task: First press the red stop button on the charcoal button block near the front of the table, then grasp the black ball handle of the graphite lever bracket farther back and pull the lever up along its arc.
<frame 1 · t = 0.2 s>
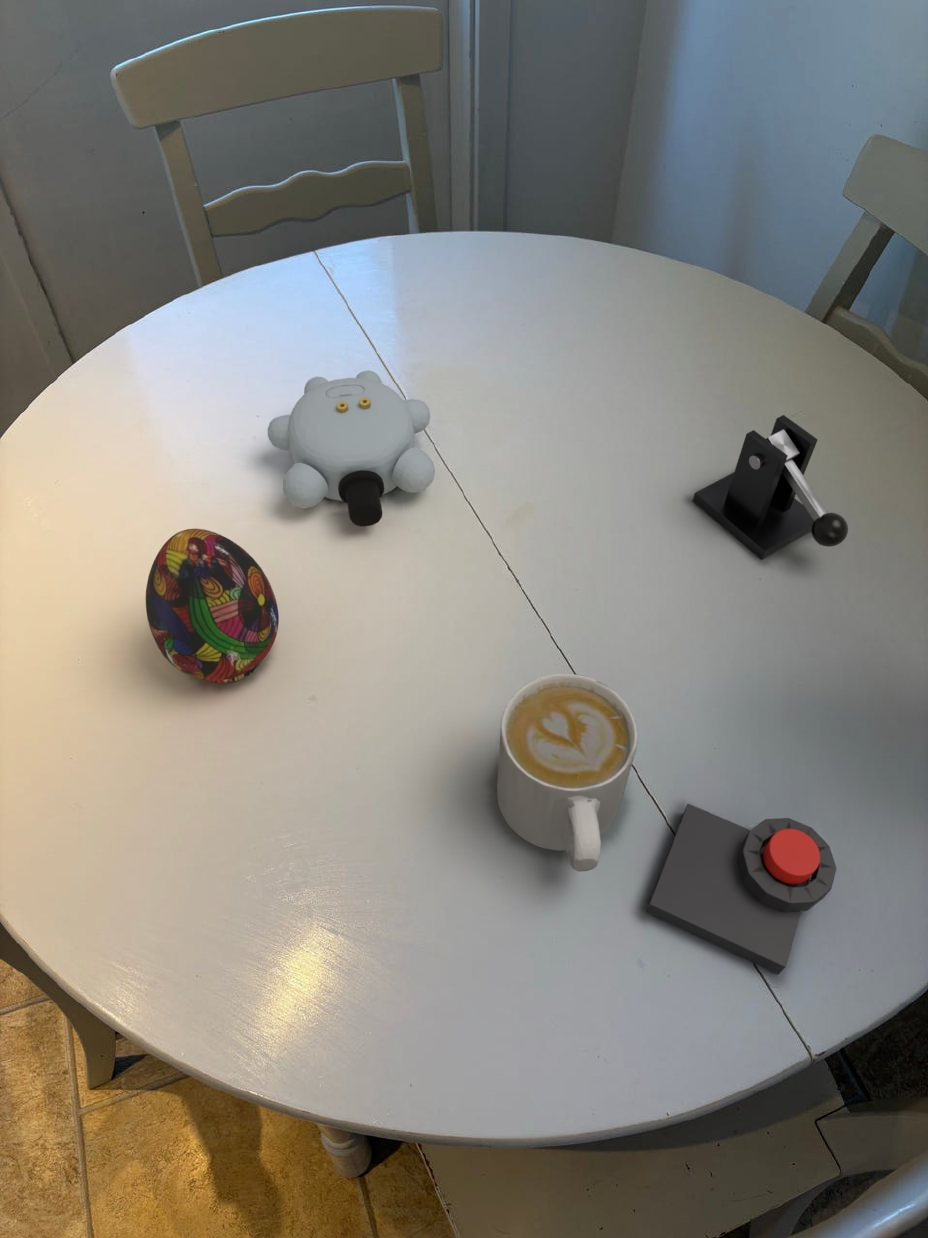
lever: (803, 490, 84), point 7 cm above the table, hinge at -25.0°
figurine: (357, 474, 96), on the table
button: (791, 856, 65), point 4 cm above the table, slide at 0.1 cm
bracket: (754, 513, 92), on the table
egg: (229, 655, 81), on the table
coffee mug: (557, 813, 71), on the table
button block: (728, 889, 67), on the table
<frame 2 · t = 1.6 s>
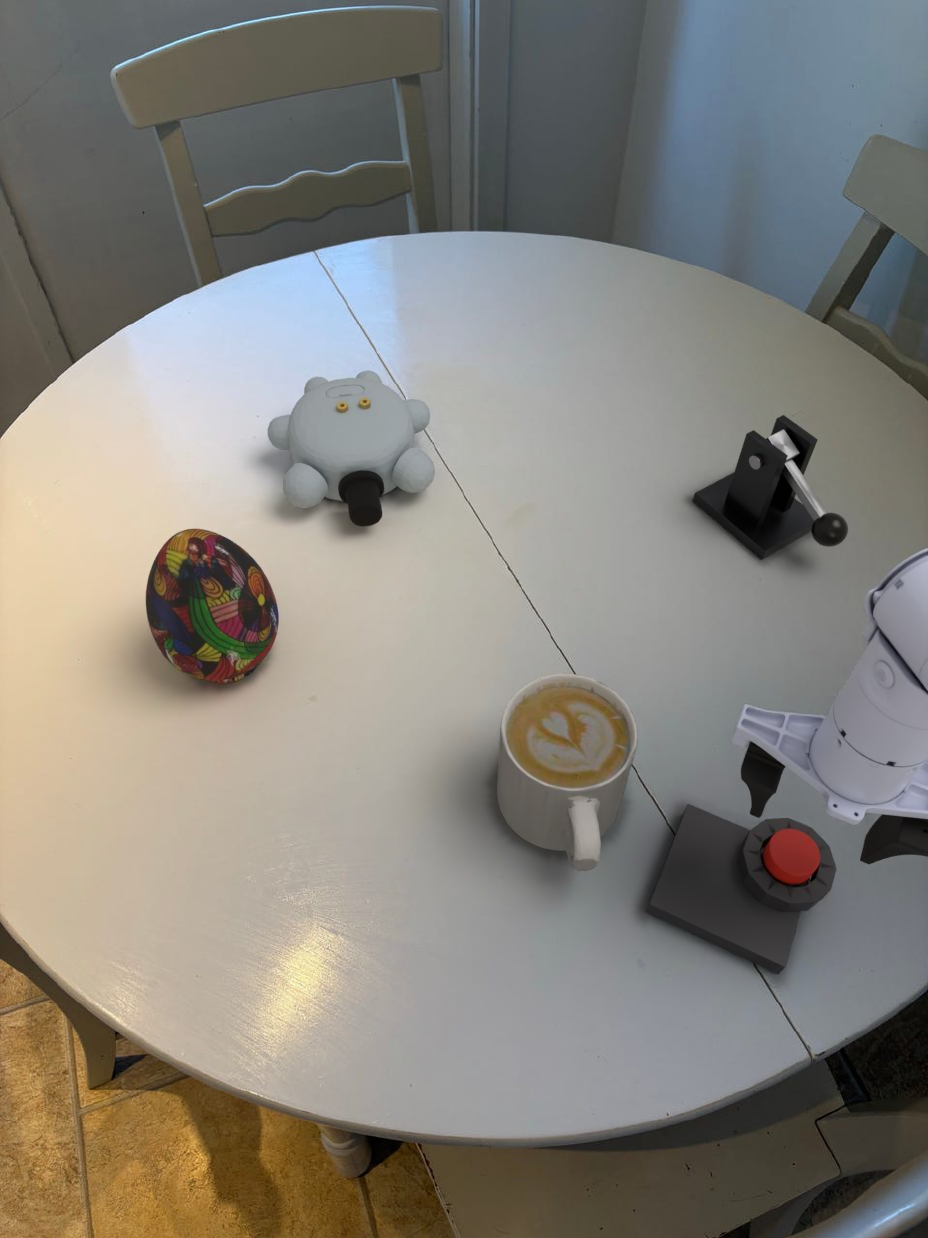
hand: (811, 827, 61), 9 cm above the table, tool pointing down, fingers open, 7 cm apart
nothing on the table moved.
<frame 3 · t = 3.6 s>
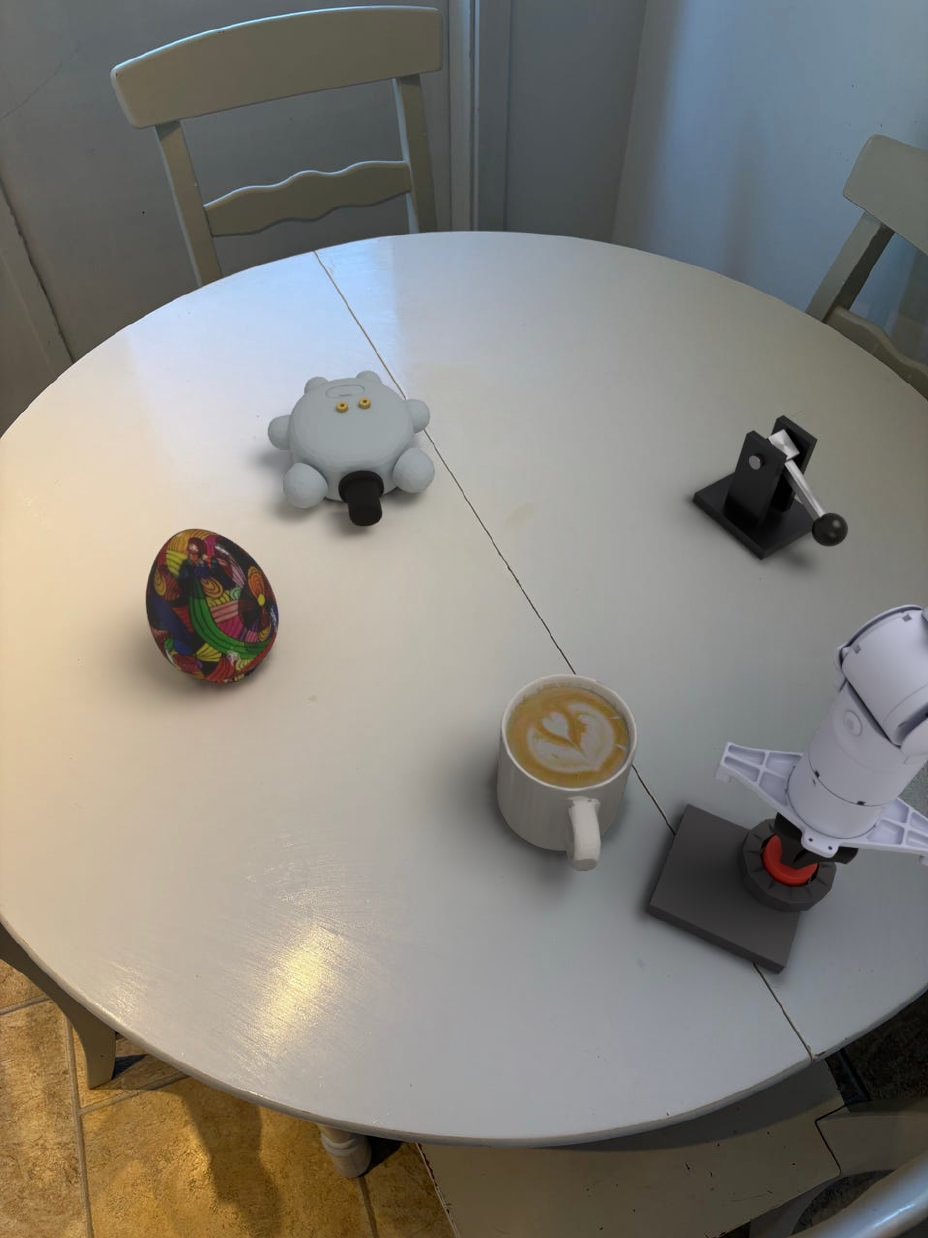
hand: (792, 855, 64), 4 cm above the table, tool pointing down, fingers closed, pressing on button
button: (789, 859, 65), point 3 cm above the table, slide at -0.5 cm, touching gripper
everything else where it was.
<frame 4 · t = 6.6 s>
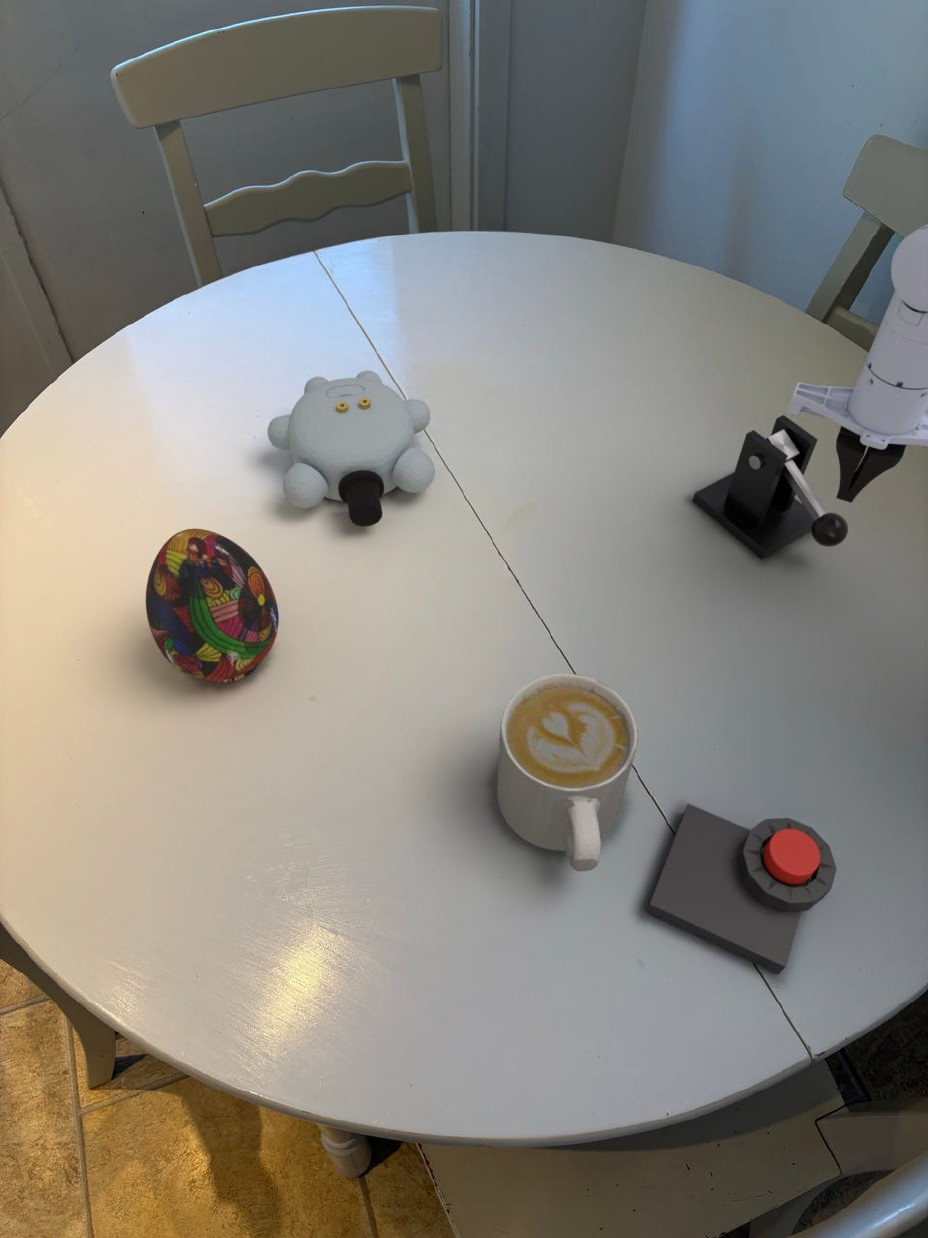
hand: (846, 493, 80), 9 cm above the table, tool pointing down, fingers closed
button: (791, 856, 65), point 4 cm above the table, slide at 0.1 cm
everything else where it was.
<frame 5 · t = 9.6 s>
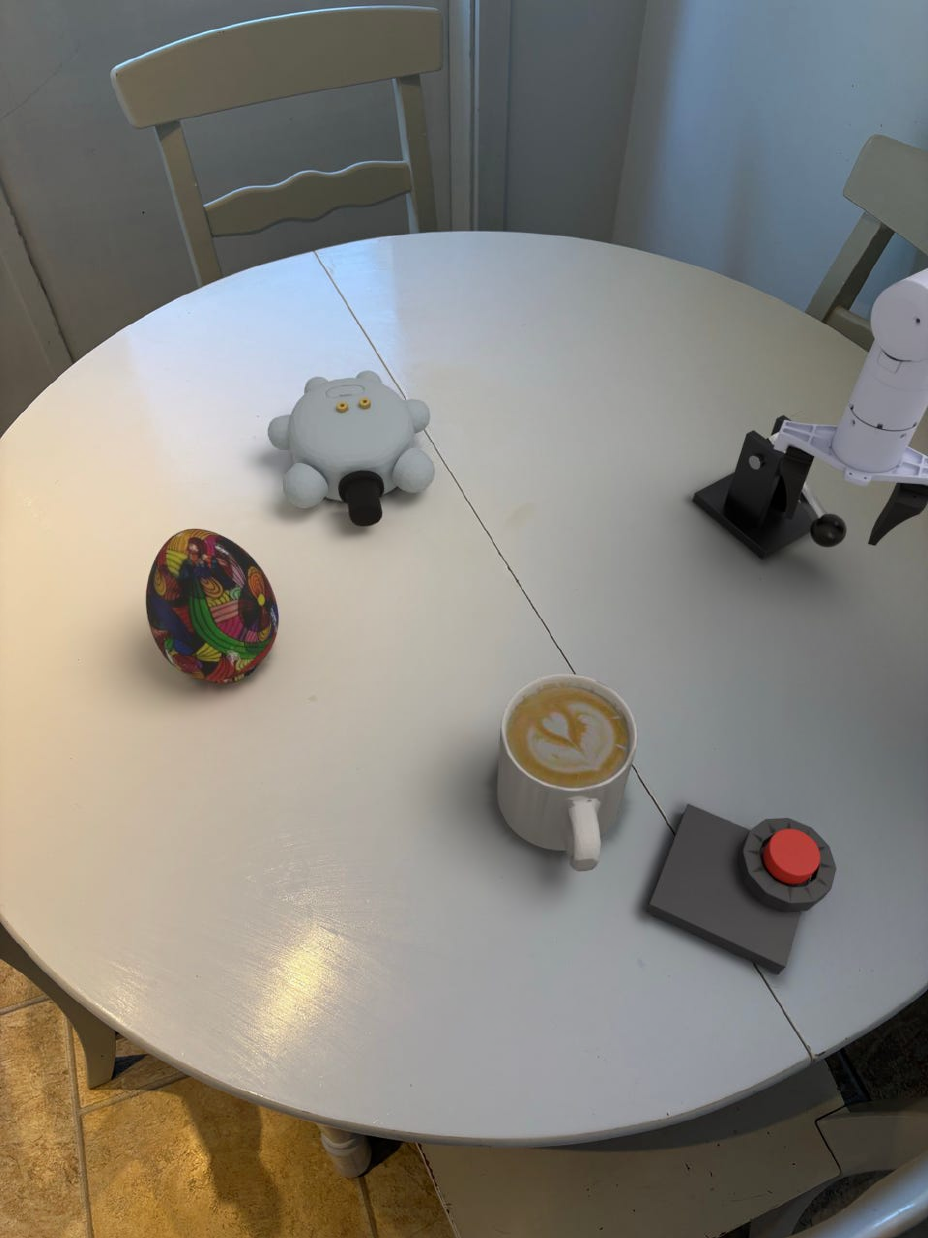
hand: (831, 524, 83), 5 cm above the table, tool pointing down, fingers open, 7 cm apart
lever: (803, 491, 84), point 6 cm above the table, hinge at -26.3°, touching gripper
everything else where it was.
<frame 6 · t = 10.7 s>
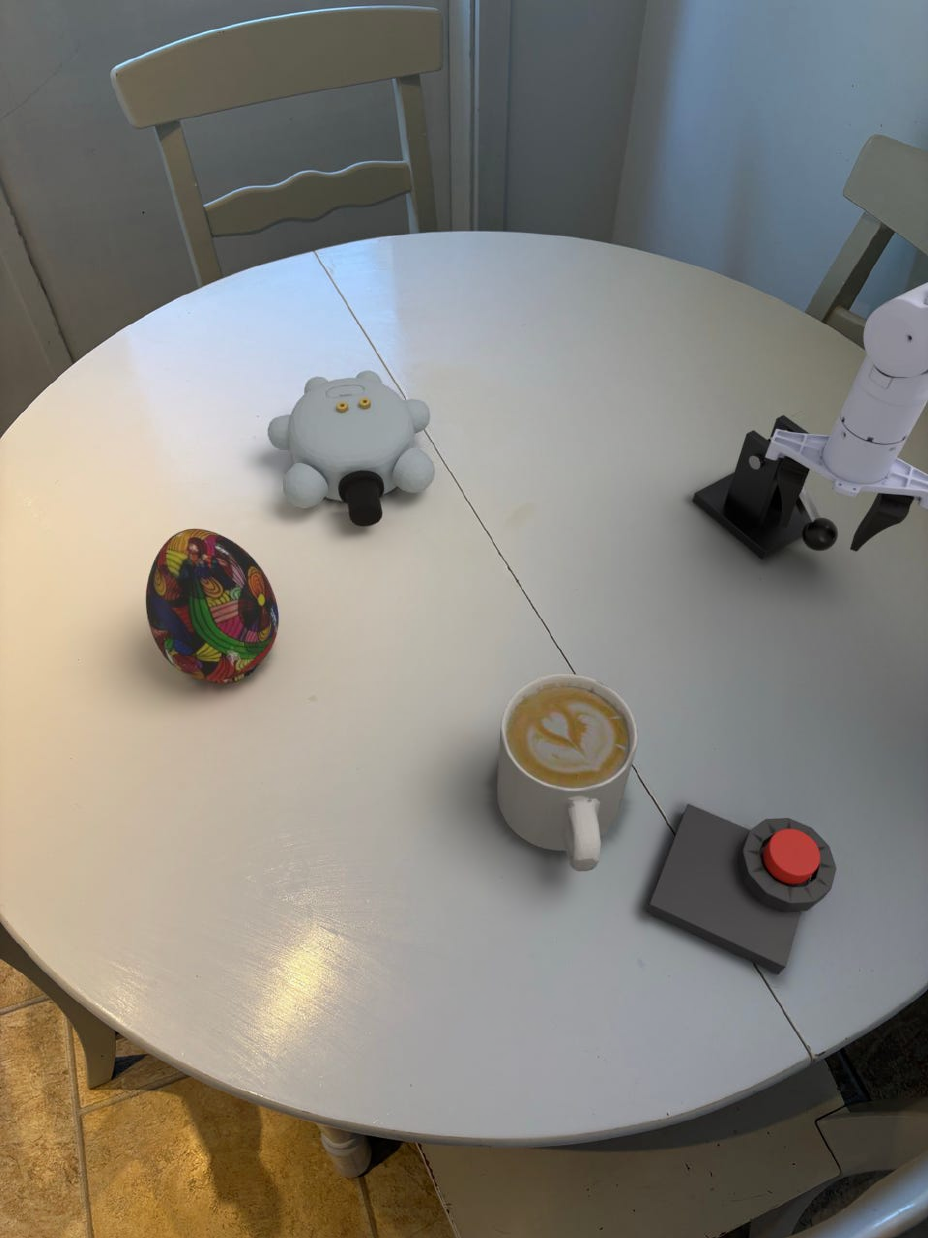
hand: (819, 531, 85), 4 cm above the table, tool pointing down, fingers open, 6 cm apart
lever: (798, 493, 85), point 6 cm above the table, hinge at -34.0°, touching gripper
everything else where it was.
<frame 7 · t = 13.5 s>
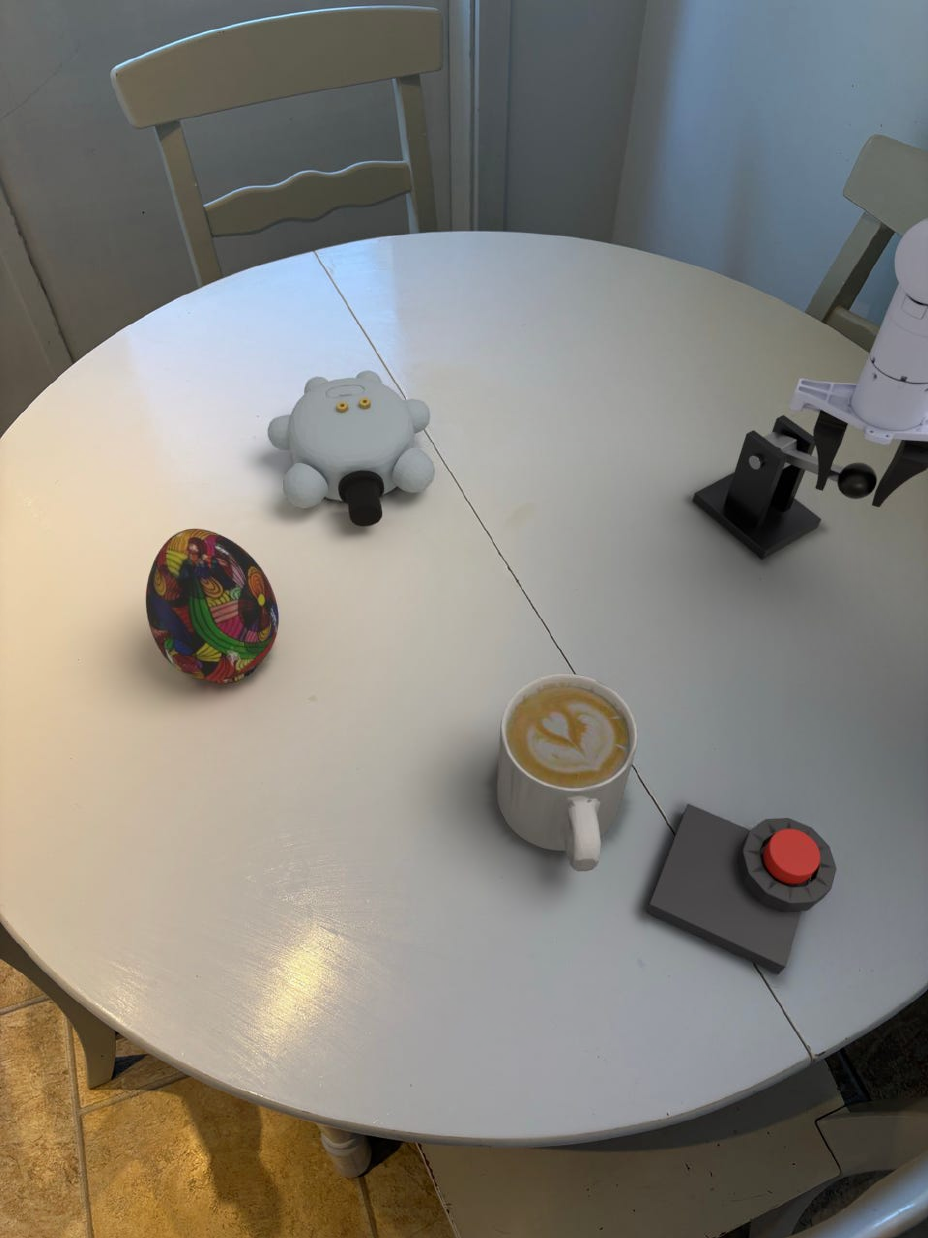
hand: (849, 491, 79), 10 cm above the table, tool pointing down, fingers open, 4 cm apart
lever: (816, 465, 82), point 10 cm above the table, hinge at 17.8°, touching gripper
everything else where it was.
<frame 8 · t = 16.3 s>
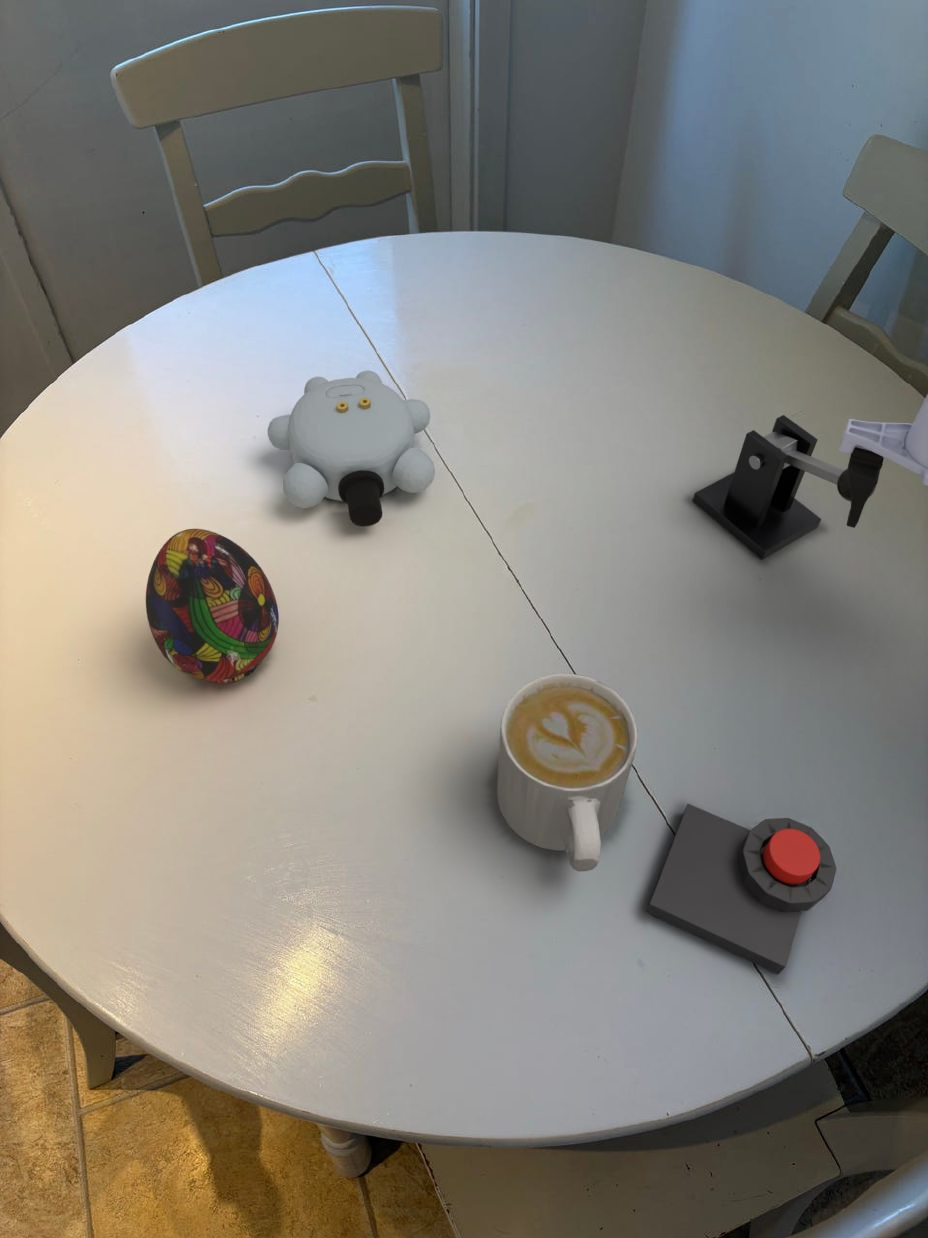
hand: (898, 531, 76), 10 cm above the table, tool pointing down, fingers open, 7 cm apart
lever: (816, 467, 82), point 10 cm above the table, hinge at 15.8°
everything else where it was.
at the end: button pushed in 1.2 cm at the most during the clip, back to where it started at the end; button slide at 0.1 cm; lever at +16° (first picture: -25°) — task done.
